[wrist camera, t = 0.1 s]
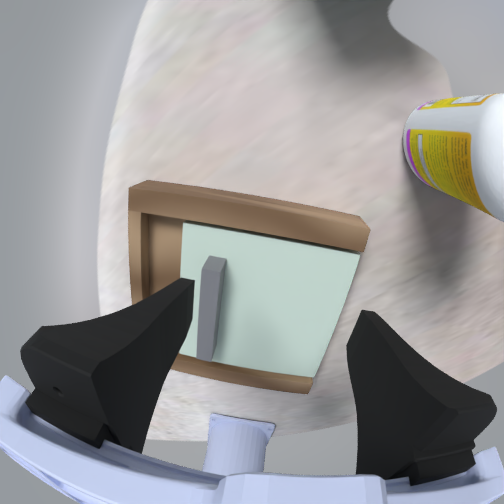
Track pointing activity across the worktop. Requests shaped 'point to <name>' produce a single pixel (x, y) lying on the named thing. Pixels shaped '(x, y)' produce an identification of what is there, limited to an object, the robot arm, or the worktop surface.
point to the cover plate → (263, 297)
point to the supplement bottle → (460, 149)
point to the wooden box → (231, 215)
